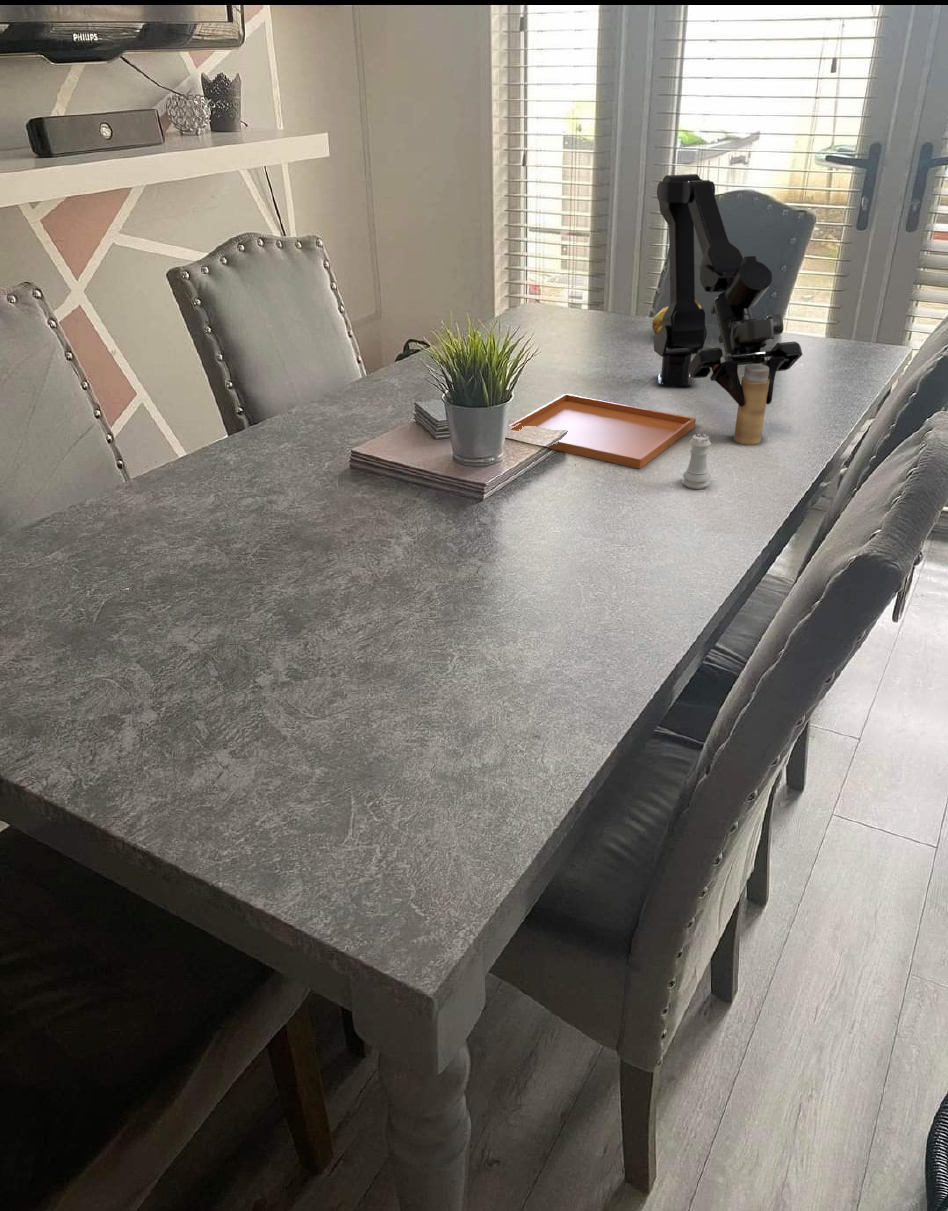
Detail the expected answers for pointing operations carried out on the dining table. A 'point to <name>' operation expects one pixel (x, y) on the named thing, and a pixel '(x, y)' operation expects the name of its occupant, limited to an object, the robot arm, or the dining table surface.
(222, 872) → the dining table surface
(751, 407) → the disc
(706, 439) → the rook chess piece
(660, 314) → the bread roll
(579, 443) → the tray
